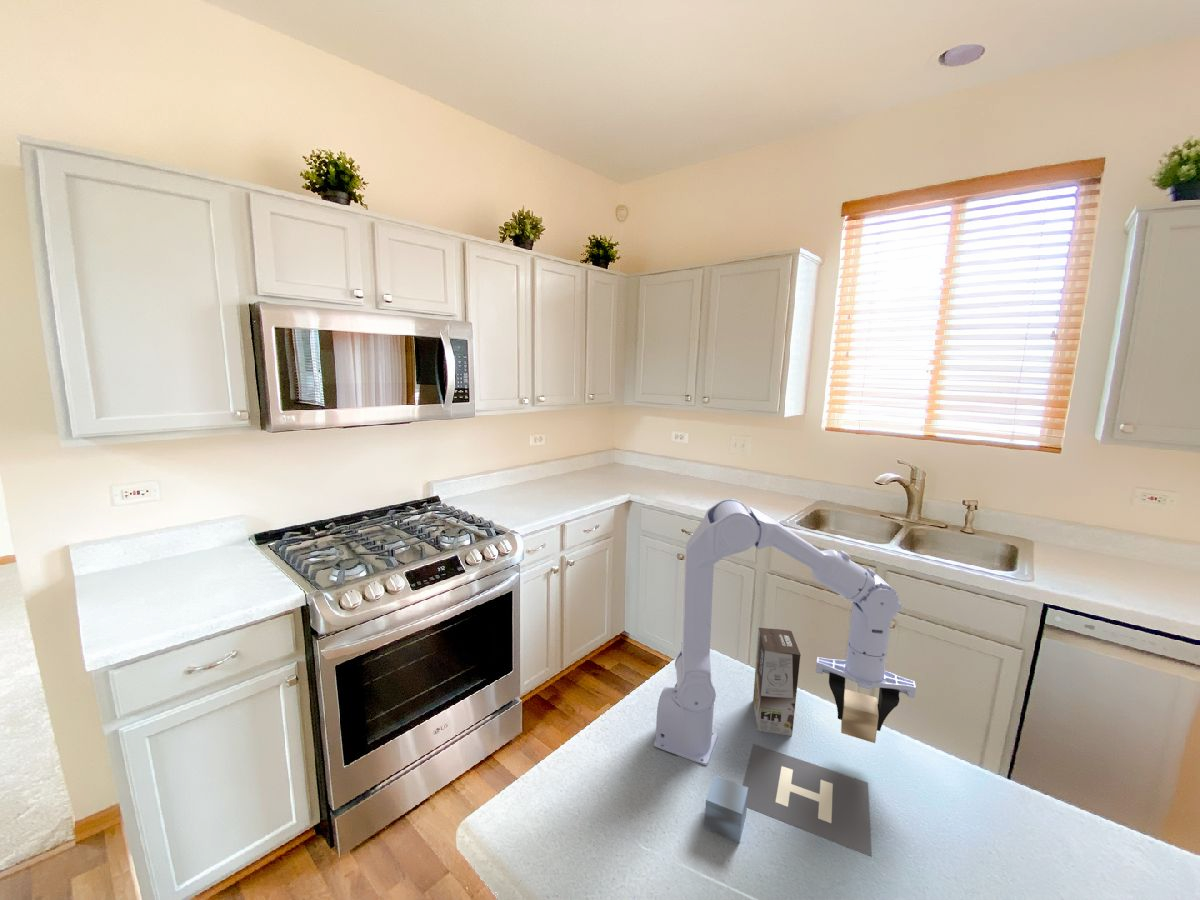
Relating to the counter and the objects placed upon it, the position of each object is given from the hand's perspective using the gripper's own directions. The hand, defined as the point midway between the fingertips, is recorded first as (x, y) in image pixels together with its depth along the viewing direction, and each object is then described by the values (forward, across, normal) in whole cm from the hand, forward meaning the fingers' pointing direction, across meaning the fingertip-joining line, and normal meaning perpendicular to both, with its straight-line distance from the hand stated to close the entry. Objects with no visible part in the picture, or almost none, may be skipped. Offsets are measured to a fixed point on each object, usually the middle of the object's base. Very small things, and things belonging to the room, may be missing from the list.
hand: (858, 721), depth 84 cm
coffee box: (+8, -14, +4) cm, 17 cm away
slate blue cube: (+8, -17, -22) cm, 29 cm away
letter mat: (+7, -7, -12) cm, 15 cm away
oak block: (+1, 0, 0) cm, 1 cm away
